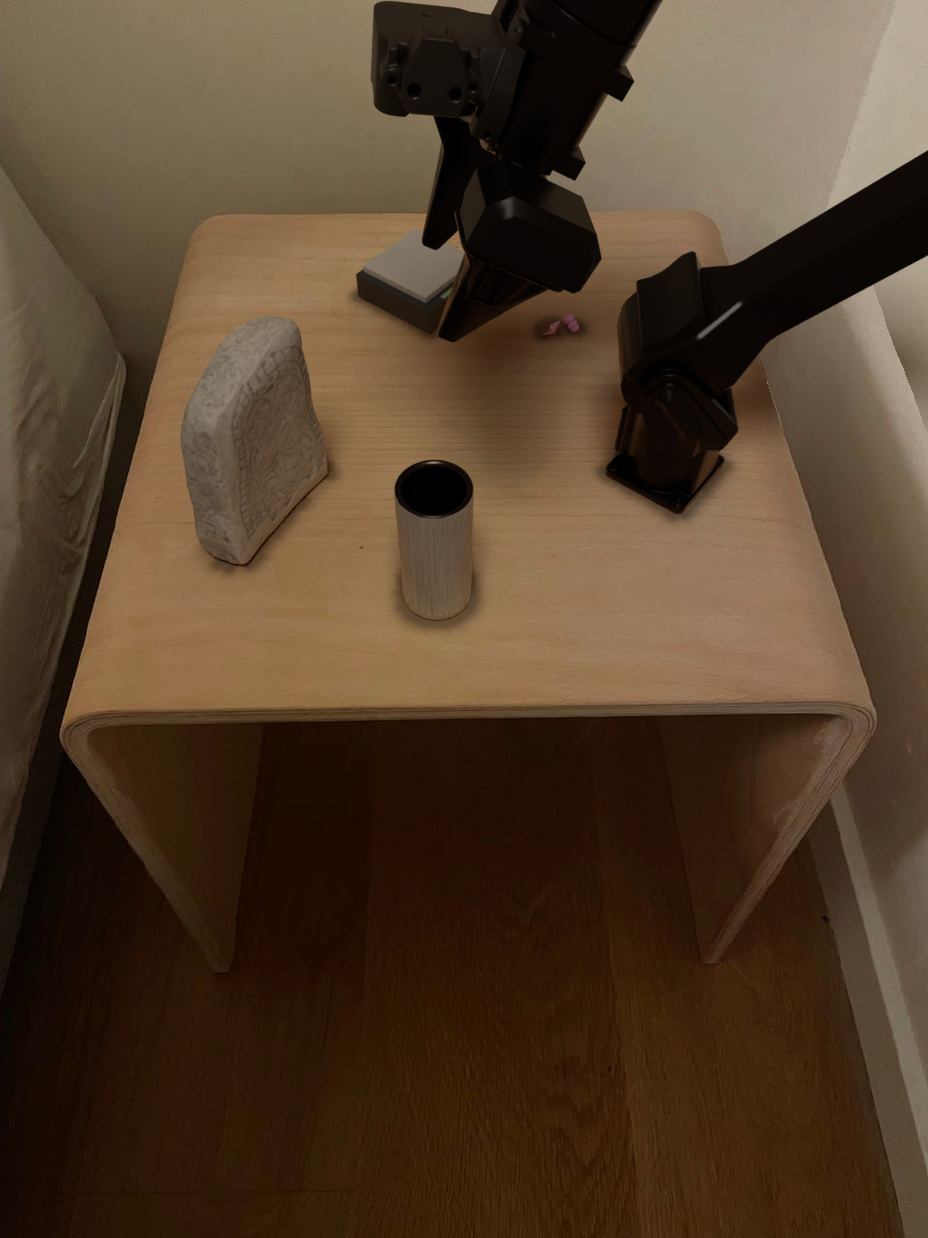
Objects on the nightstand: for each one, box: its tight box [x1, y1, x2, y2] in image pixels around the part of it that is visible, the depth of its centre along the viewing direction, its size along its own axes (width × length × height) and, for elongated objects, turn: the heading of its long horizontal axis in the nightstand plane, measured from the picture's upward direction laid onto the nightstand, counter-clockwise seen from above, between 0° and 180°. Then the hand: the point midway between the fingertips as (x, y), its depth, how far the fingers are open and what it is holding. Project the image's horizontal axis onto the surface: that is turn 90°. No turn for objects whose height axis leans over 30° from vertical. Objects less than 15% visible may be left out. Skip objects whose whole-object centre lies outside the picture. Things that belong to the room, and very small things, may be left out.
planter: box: [393, 459, 475, 621], centre depth 56 cm, size 4×4×10 cm
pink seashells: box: [541, 313, 580, 336], centre depth 75 cm, size 3×2×2 cm
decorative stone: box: [180, 315, 329, 565], centre depth 58 cm, size 11×6×15 cm, turn 153°
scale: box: [355, 228, 465, 335], centre depth 76 cm, size 8×8×3 cm
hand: (436, 290), depth 52 cm, fingers open, 9 cm apart
